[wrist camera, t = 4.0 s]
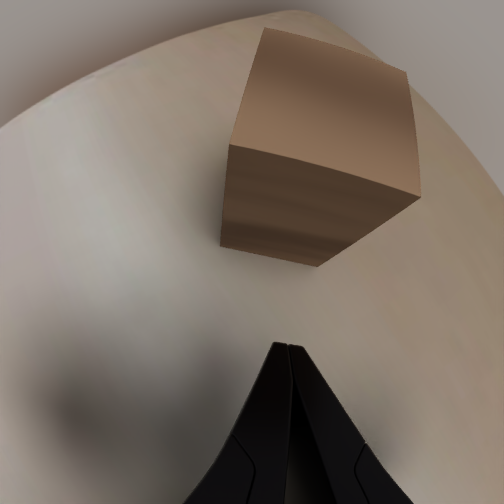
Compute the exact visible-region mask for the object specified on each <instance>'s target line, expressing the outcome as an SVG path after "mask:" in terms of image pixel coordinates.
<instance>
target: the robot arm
mask: <svg viewBox="0 0 504 504" xmlns="http://www.w3.org/2000/svg"><path fill="white" fill-rule="evenodd" d="M183 504H414V503H413V502H412V501H411V500H410V499H409V497H408V496H407V495H406V494H405V493H404V492H403V491H402V489H401V488H400V487H399V486H398V485H397V484H396V482H395V481H394V480H393V479H392V478H391V476H390V475H389V474H388V473H387V471H386V470H385V469H384V468H383V466H382V465H381V463H380V462H379V460H378V459H377V458H376V456H375V455H374V453H373V452H372V450H371V449H370V447H369V446H368V444H367V443H365V440H364V438H363V437H362V435H361V434H360V432H359V431H358V429H357V428H356V426H355V425H354V423H353V422H352V420H351V419H350V417H349V416H348V414H347V413H346V411H345V410H344V408H343V407H342V405H341V404H340V402H339V400H338V399H337V397H336V396H335V394H334V393H333V391H332V390H331V388H330V387H329V385H328V384H327V382H326V381H325V379H324V378H323V376H322V374H321V373H320V371H319V370H318V368H317V367H316V365H315V364H314V362H313V361H312V359H311V358H310V356H309V355H308V353H307V351H306V350H305V348H304V347H303V346H299V345H292V344H289V345H287V344H286V343H280V342H273V343H272V345H271V347H270V350H269V352H268V354H267V356H266V358H265V361H264V363H263V365H262V367H261V369H260V372H259V374H258V376H257V378H256V380H255V382H254V385H253V387H252V389H251V391H250V393H249V395H248V397H247V399H246V401H245V403H244V406H243V408H242V410H241V412H240V414H239V416H238V418H237V420H236V422H235V424H234V426H233V428H232V430H231V432H230V435H229V436H228V438H227V440H226V442H225V444H224V446H223V448H222V449H221V451H220V453H219V455H218V456H217V458H216V460H215V462H214V463H213V465H212V466H211V467H210V469H209V470H208V472H207V473H206V475H205V476H204V477H203V479H202V480H201V481H200V483H199V484H198V485H197V486H196V488H195V489H194V490H193V491H192V493H191V494H190V495H189V496H188V498H187V499H186V500H185V501H184V503H183Z"/></svg>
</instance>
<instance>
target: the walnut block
mask: <svg viewBox="0 0 504 504" xmlns="http://www.w3.org/2000/svg"><path fill="white" fill-rule="evenodd" d="M419 198H421V183H420V168H419V156H418V146H417V137H416V129H415V121H414V114H413V108H412V101H411V95H410V90H409V84H408V79H407V74H406V72H404V71H402V70H400V69H397V68H395V67H393V66H390V65H388V64H385V63H383V62H380V61H378V60H375V59H373V58H370V57H367V56H365V55H362V54H359V53H356V52H354V51H351V50H348V49H345V48H342V47H339V46H335V45H332V44H329V43H326V42H322V41H319V40H315V39H312V38H308V37H304V36H300V35H296V34H292V33H288V32H284V31H279V30H275V29H270V28H265V27H264V30H263V33H262V36H261V40H260V43H259V46H258V49H257V52H256V55H255V58H254V61H253V65H252V68H251V71H250V74H249V77H248V81H247V84H246V87H245V91H244V94H243V97H242V101H241V104H240V108H239V111H238V114H237V118H236V121H235V125H234V128H233V132H232V135H231V139H230V143H229V150H228V161H227V171H226V182H225V193H224V205H223V216H222V229H221V242H220V246H221V247H226V248H230V249H235V250H240V251H245V252H249V253H254V254H259V255H263V256H268V257H273V258H278V259H282V260H287V261H292V262H296V263H301V264H306V265H311V266H315V267H318V266H320V265H321V264H323V263H324V262H326V261H328V260H329V259H331V258H332V257H334V256H335V255H337V254H338V253H340V252H341V251H343V250H344V249H346V248H347V247H349V246H350V245H352V244H354V243H355V242H357V241H358V240H360V239H361V238H363V237H364V236H366V235H367V234H369V233H370V232H371V231H373V230H374V229H376V228H377V227H379V226H380V225H382V224H383V223H385V222H386V221H388V220H389V219H391V218H392V217H394V216H395V215H396V214H398V213H399V212H401V211H402V210H404V209H405V208H407V207H408V206H409V205H411V204H412V203H414V202H415V201H417V200H418V199H419Z"/></svg>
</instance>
